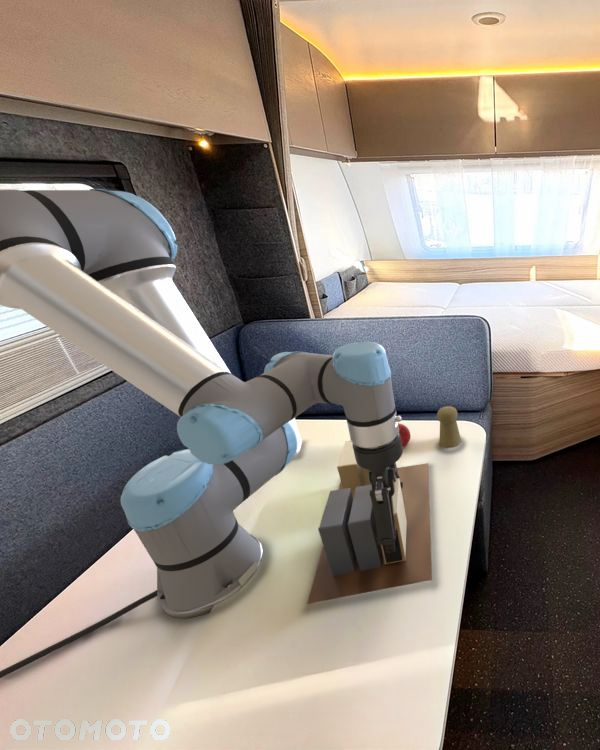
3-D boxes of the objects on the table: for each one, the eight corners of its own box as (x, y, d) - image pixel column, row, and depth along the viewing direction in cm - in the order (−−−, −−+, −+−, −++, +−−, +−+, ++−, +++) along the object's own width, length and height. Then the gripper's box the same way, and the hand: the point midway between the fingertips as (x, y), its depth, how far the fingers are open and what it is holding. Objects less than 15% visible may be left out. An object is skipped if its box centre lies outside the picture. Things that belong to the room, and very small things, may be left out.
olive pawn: (458, 452, 99) (454, 416, 94) (436, 450, 100) (431, 414, 95) (464, 439, 104) (461, 404, 100) (443, 437, 105) (439, 402, 101)
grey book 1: (333, 576, 66) (318, 529, 62) (342, 534, 74) (329, 490, 70) (354, 572, 67) (341, 525, 62) (361, 531, 75) (350, 487, 70)
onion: (416, 445, 103) (412, 419, 99) (401, 456, 98) (396, 430, 95) (401, 439, 106) (396, 413, 102) (385, 450, 101) (380, 424, 98)
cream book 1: (348, 509, 81) (337, 467, 76) (354, 480, 89) (344, 441, 84) (366, 506, 81) (355, 464, 76) (370, 478, 89) (362, 438, 85)
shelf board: (308, 608, 62) (306, 603, 62) (343, 479, 91) (342, 475, 90) (432, 584, 66) (432, 579, 65) (428, 467, 94) (428, 463, 94)
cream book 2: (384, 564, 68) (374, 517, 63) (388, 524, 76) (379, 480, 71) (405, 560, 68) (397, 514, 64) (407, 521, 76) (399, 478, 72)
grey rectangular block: (360, 571, 67) (347, 524, 62) (366, 530, 75) (355, 486, 70) (381, 567, 68) (370, 520, 63) (385, 527, 76) (375, 483, 71)
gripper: (396, 477, 53) (416, 586, 62) (402, 401, 72) (416, 494, 82) (339, 485, 52) (368, 595, 61) (361, 406, 71) (380, 499, 81)
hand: (395, 537), depth 72 cm, fingers closed on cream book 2, 9 cm apart
